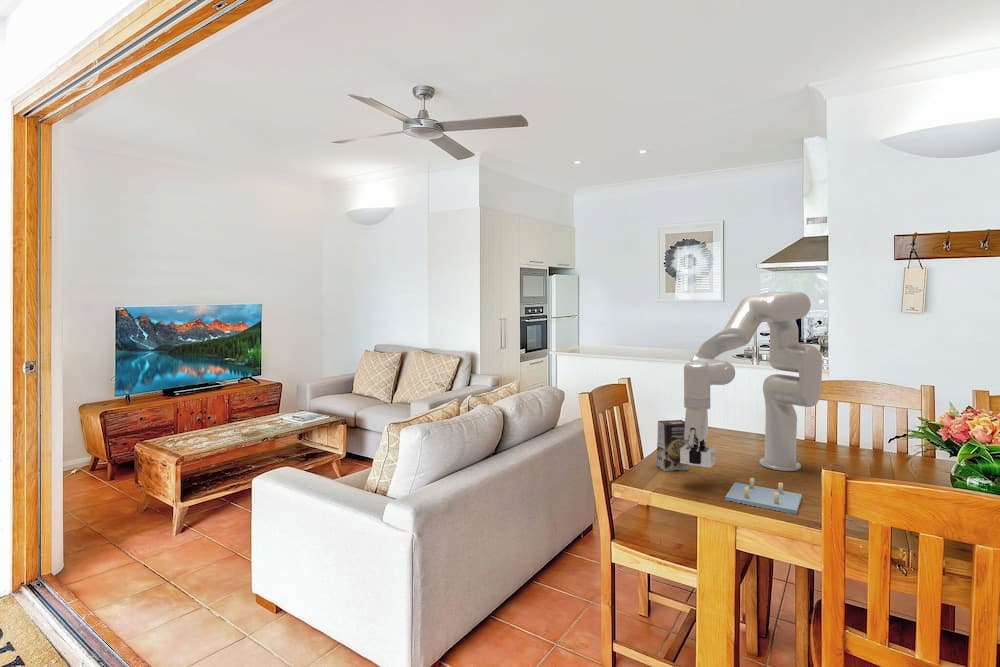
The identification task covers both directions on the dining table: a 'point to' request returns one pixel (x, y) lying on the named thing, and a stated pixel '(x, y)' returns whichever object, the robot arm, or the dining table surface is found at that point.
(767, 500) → the blue pegged holder base
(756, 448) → the dining table surface
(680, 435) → the cookie box
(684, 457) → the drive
